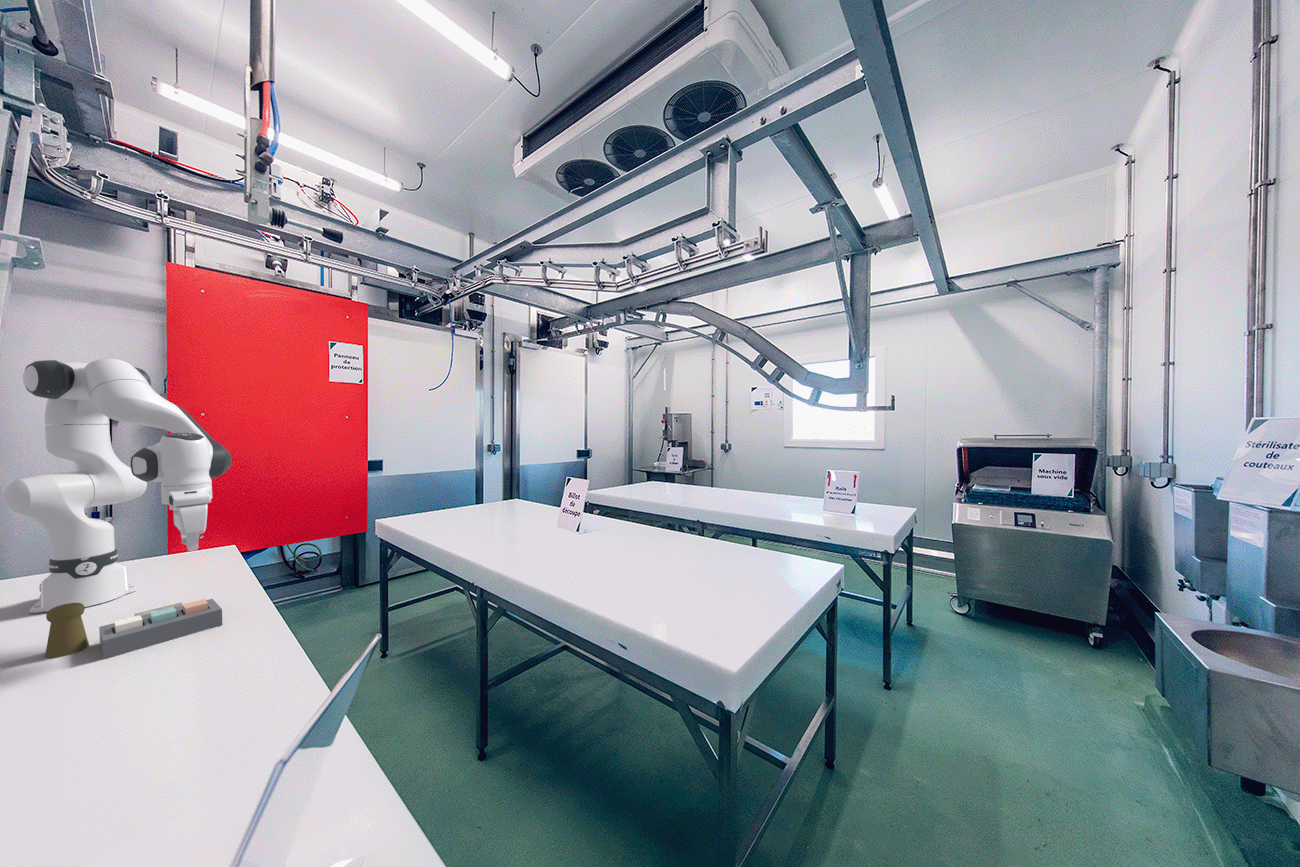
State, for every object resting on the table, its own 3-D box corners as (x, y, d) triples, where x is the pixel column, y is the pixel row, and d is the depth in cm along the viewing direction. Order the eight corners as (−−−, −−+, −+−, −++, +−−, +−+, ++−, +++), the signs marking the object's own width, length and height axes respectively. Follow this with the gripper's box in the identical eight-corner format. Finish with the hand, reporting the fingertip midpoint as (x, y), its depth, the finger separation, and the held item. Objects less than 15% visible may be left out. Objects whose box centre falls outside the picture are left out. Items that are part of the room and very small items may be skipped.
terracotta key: (182, 615, 108) (182, 604, 108) (204, 609, 111) (204, 599, 111) (185, 619, 106) (185, 608, 106) (208, 613, 109) (207, 602, 109)
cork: (55, 659, 93) (53, 612, 92) (37, 656, 94) (35, 609, 94) (96, 645, 99) (94, 600, 98) (78, 642, 100) (76, 598, 100)
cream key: (114, 633, 99) (113, 621, 99) (140, 626, 102) (140, 614, 102) (116, 638, 97) (115, 626, 97) (142, 631, 100) (142, 619, 100)
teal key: (150, 624, 103) (149, 612, 103) (174, 617, 107) (173, 606, 107) (152, 628, 101) (152, 617, 101) (177, 622, 105) (176, 610, 104)
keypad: (99, 641, 100) (98, 621, 100) (211, 611, 116) (210, 594, 116) (103, 659, 93) (102, 637, 93) (222, 624, 109) (221, 606, 109)
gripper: (164, 492, 111) (166, 543, 111) (174, 500, 99) (176, 557, 99) (198, 489, 116) (201, 537, 116) (212, 496, 104) (214, 550, 104)
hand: (190, 547), depth 108 cm, fingers open, 8 cm apart
